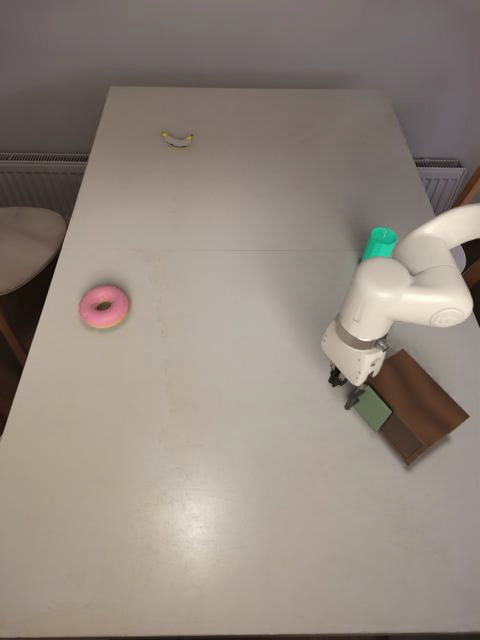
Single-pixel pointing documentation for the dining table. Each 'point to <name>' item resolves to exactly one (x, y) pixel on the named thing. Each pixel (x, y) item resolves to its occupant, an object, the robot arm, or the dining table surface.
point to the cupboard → (414, 407)
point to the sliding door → (369, 407)
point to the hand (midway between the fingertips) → (336, 380)
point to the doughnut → (108, 315)
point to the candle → (380, 243)
